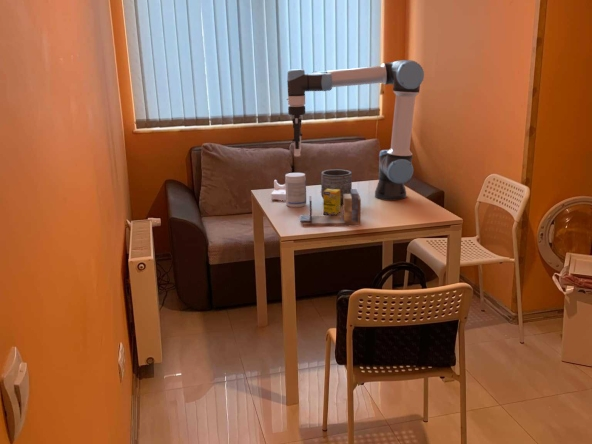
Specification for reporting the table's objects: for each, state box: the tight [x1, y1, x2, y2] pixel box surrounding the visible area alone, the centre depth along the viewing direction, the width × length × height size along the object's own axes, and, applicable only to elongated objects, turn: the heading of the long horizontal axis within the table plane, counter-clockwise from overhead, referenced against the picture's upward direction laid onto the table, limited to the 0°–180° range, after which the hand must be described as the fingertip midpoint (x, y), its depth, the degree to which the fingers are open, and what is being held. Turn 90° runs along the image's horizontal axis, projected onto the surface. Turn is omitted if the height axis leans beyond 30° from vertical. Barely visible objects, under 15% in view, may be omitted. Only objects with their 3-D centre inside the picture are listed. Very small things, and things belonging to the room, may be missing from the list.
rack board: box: [301, 188, 362, 227], centre depth 248 cm, size 24×11×13 cm, turn 89°
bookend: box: [299, 195, 313, 223], centre depth 249 cm, size 5×8×9 cm, turn 179°
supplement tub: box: [284, 172, 307, 208], centre depth 275 cm, size 10×10×15 cm
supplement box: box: [322, 188, 341, 216], centre depth 260 cm, size 6×6×11 cm
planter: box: [320, 168, 353, 207], centre depth 277 cm, size 14×14×15 cm
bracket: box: [270, 179, 286, 202], centre depth 291 cm, size 13×7×8 cm, turn 174°
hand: (297, 153), depth 266 cm, fingers open, 13 cm apart
